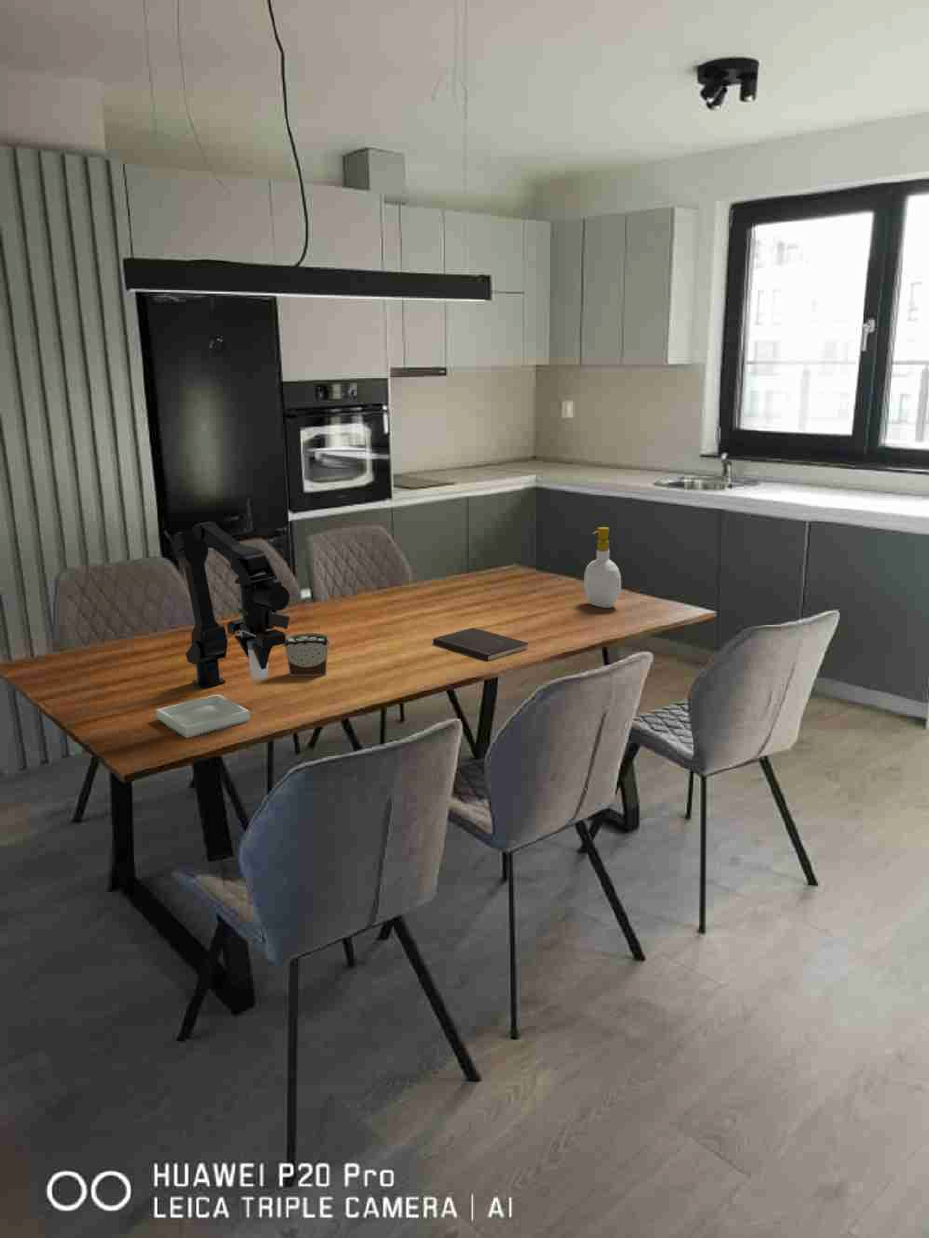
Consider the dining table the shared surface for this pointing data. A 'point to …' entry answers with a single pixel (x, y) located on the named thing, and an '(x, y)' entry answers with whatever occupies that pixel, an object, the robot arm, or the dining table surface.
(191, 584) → the robot arm
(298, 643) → the food container
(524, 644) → the hardcover book
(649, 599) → the dining table surface
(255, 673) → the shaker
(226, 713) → the tray
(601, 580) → the soap bottle
